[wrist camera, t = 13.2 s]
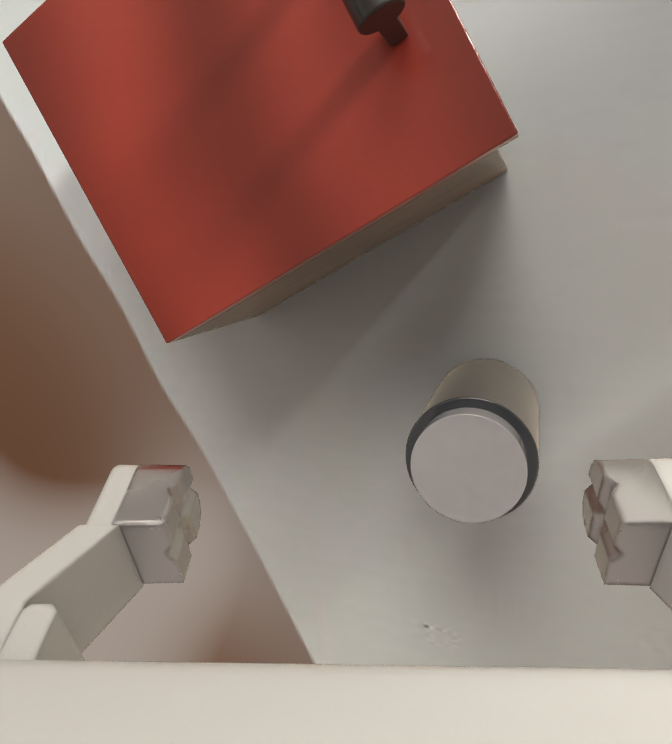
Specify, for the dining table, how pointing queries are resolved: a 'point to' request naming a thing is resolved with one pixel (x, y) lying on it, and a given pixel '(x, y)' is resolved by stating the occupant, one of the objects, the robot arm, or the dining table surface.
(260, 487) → the dining table surface
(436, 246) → the dining table surface
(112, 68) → the lid
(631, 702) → the robot arm
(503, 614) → the dining table surface
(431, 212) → the chest
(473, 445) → the cylinder
